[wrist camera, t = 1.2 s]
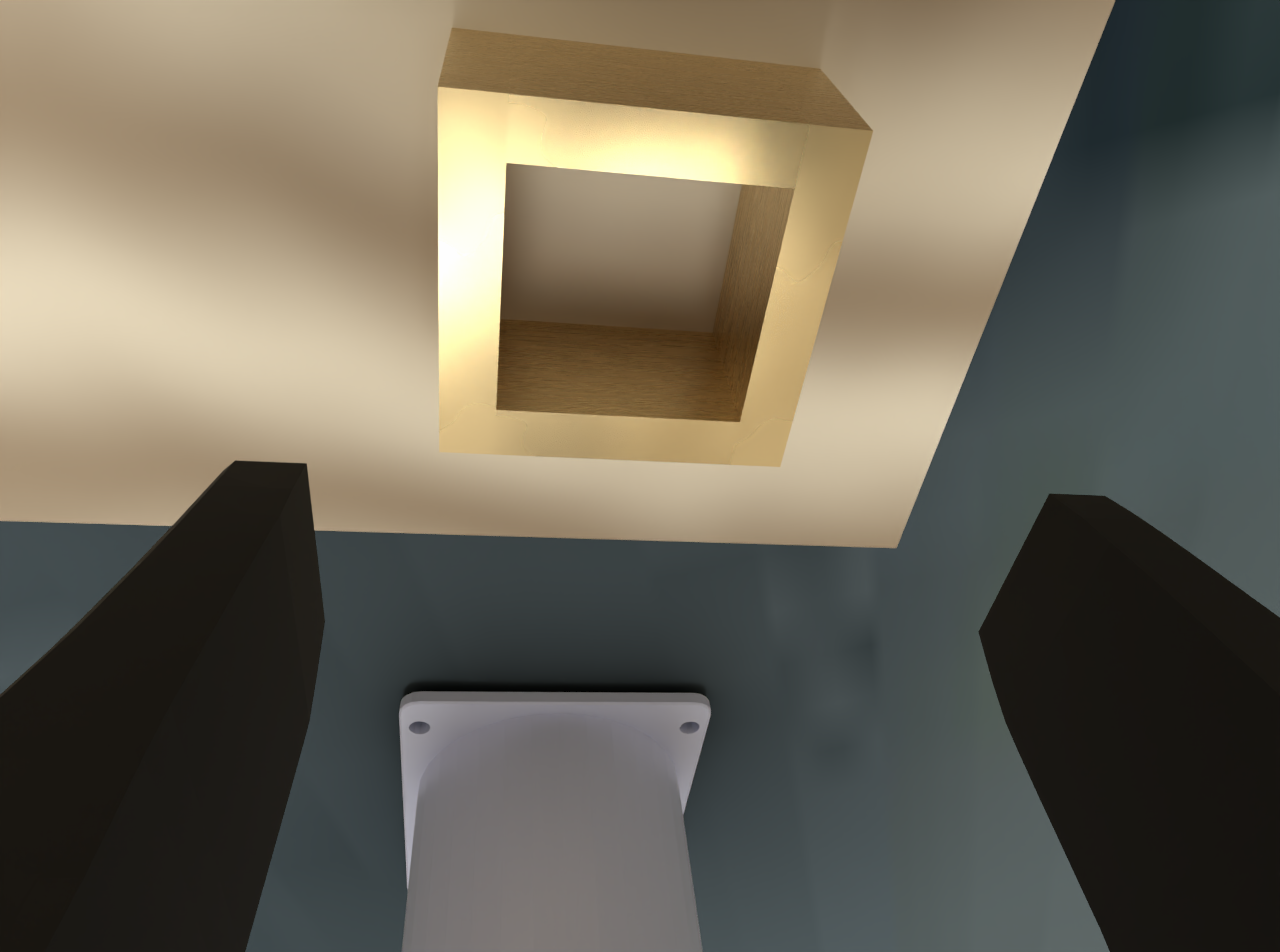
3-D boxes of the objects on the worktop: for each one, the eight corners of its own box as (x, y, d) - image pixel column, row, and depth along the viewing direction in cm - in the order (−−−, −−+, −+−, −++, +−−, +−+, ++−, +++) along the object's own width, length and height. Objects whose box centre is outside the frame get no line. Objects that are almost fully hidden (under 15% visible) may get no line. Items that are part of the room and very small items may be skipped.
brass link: (748, 375, 18) (780, 466, 15) (450, 357, 17) (438, 451, 15) (819, 68, 14) (873, 130, 12) (451, 27, 13) (437, 87, 11)
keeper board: (883, 518, 22) (952, 672, 18) (-553, 467, 17) (-824, 654, 14) (1168, -238, 13) (1402, -224, 10) (-1519, -707, 9) (-2861, -987, 5)
